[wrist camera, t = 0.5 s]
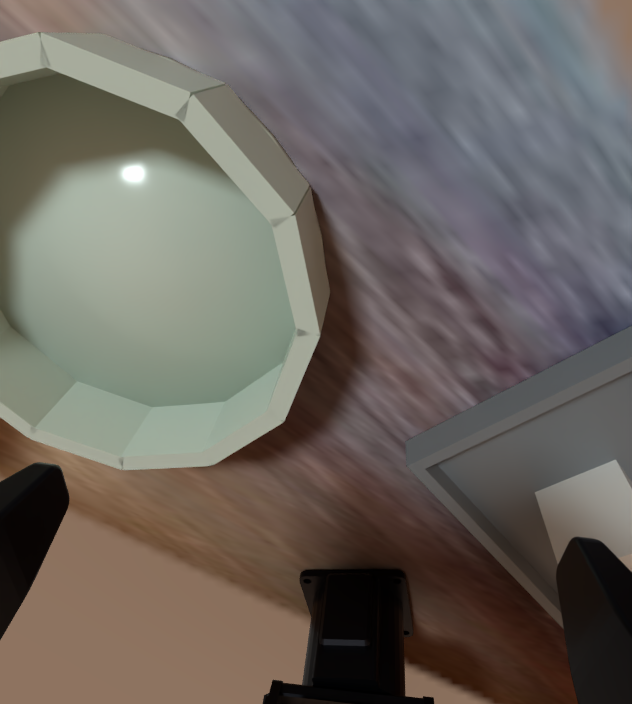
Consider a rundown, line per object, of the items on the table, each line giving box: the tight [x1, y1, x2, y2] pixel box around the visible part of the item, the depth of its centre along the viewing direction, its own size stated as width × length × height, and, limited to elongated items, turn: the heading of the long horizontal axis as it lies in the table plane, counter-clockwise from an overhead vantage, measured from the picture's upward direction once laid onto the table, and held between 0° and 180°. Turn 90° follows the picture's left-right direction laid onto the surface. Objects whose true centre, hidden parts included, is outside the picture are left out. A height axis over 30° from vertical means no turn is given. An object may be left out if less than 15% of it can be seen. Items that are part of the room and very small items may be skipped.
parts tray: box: [406, 326, 632, 629], centre depth 24 cm, size 16×11×2 cm
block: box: [535, 460, 632, 572], centre depth 23 cm, size 4×4×5 cm
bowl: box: [0, 32, 330, 470], centre depth 19 cm, size 16×16×4 cm
